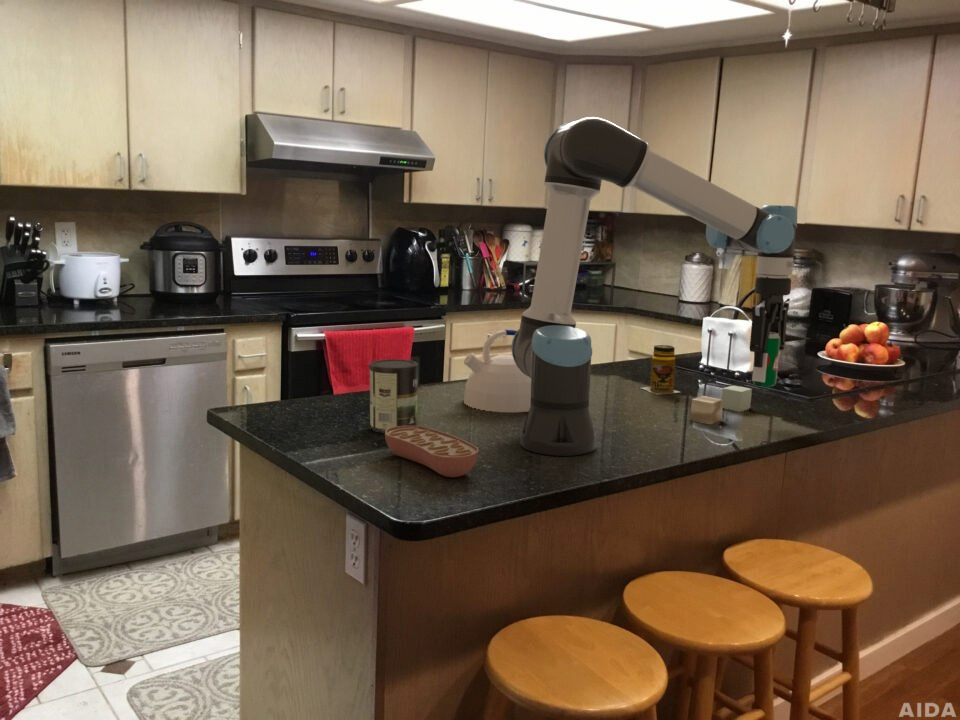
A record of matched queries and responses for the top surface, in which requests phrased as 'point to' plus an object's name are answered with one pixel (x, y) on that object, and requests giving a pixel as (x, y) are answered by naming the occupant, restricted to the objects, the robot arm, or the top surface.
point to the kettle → (497, 381)
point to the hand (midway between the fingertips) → (764, 379)
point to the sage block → (736, 398)
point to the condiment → (662, 370)
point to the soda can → (771, 360)
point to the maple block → (706, 410)
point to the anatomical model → (433, 449)
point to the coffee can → (393, 393)
